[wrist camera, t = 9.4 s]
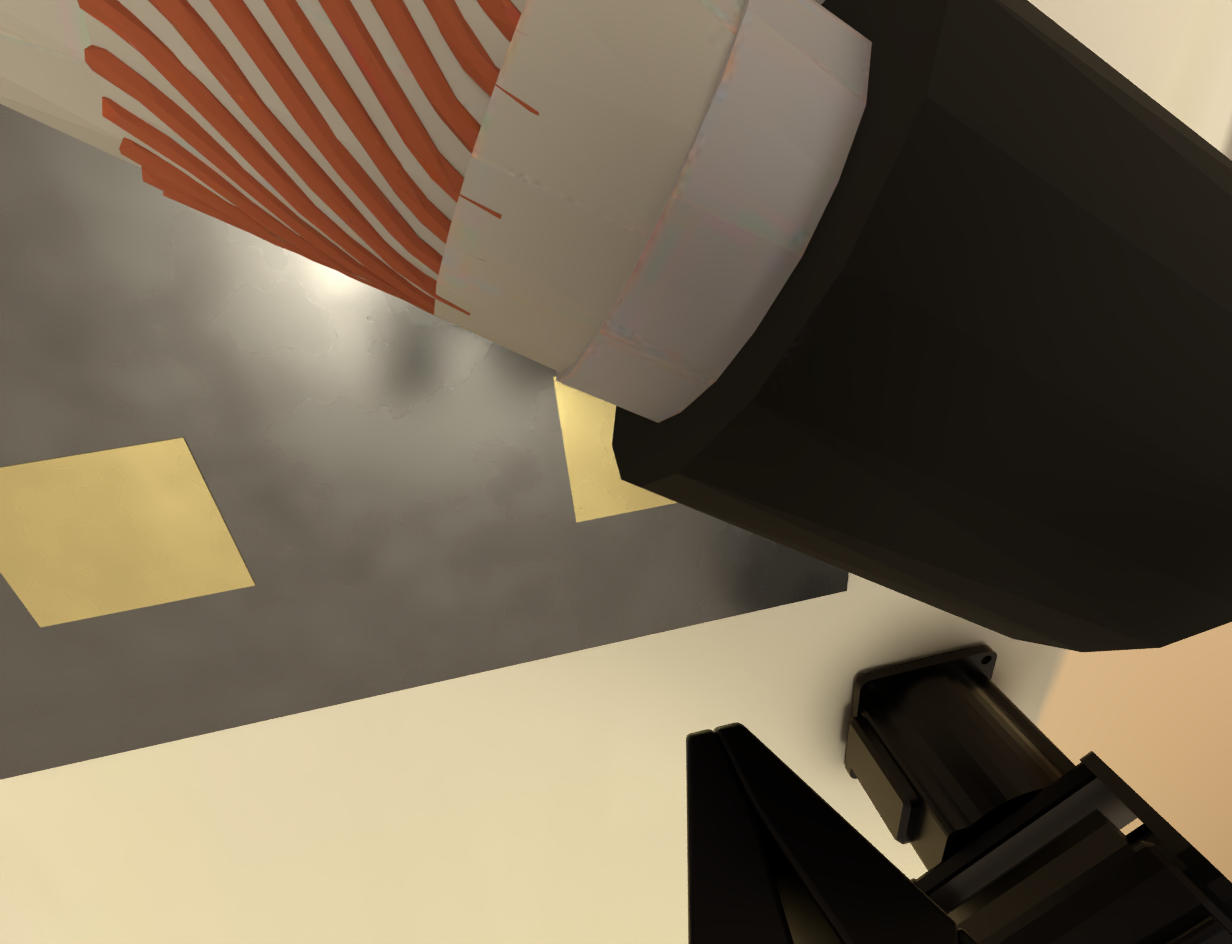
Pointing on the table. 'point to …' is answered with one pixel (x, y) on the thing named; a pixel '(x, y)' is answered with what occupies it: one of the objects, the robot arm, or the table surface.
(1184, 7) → the table surface
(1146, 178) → the banded tapered cylinder
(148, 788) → the table surface
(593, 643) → the plate
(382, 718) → the table surface
